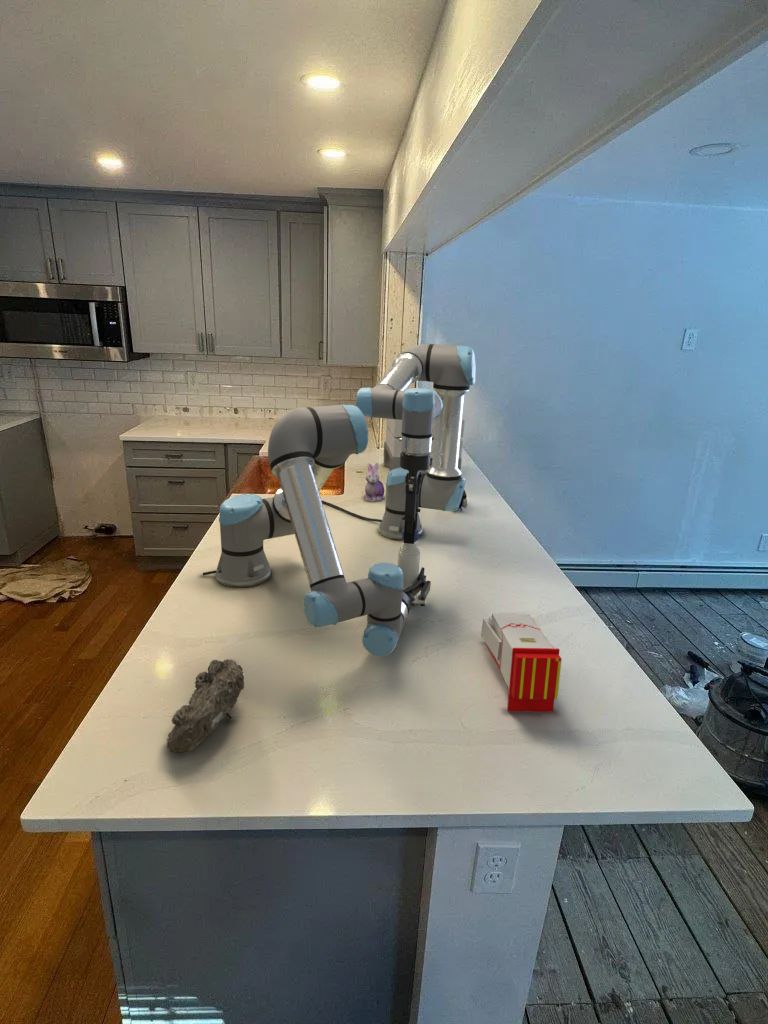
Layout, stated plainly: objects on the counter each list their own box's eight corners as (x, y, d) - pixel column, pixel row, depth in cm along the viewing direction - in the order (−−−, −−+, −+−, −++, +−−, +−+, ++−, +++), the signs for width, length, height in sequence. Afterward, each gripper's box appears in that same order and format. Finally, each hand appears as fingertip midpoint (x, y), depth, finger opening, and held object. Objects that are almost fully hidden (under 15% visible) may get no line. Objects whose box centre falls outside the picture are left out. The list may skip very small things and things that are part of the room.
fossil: (192, 660, 117) (244, 628, 112) (224, 691, 120) (276, 661, 115) (142, 746, 98) (202, 712, 93) (182, 779, 101) (242, 748, 96)
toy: (527, 598, 138) (570, 654, 108) (522, 650, 141) (563, 718, 111) (477, 597, 137) (507, 653, 108) (474, 649, 140) (502, 717, 111)
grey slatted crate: (382, 463, 289) (386, 382, 275) (445, 464, 293) (451, 384, 279) (390, 482, 257) (394, 392, 243) (460, 483, 261) (468, 394, 247)
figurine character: (467, 516, 223) (461, 500, 237) (469, 499, 220) (463, 483, 233) (450, 516, 223) (446, 499, 236) (452, 498, 220) (447, 483, 233)
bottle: (421, 600, 155) (426, 533, 148) (408, 607, 151) (412, 540, 144) (404, 593, 159) (408, 527, 152) (390, 600, 154) (394, 533, 148)
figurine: (369, 503, 229) (370, 467, 224) (358, 496, 237) (359, 461, 232) (389, 500, 233) (391, 465, 228) (378, 493, 242) (380, 459, 236)
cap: (418, 542, 146) (419, 534, 146) (401, 542, 146) (402, 534, 146) (418, 536, 151) (418, 528, 150) (401, 535, 151) (401, 527, 150)
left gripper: (354, 617, 139) (377, 577, 160) (430, 630, 135) (443, 587, 156) (355, 590, 137) (378, 553, 158) (433, 602, 133) (446, 562, 154)
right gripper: (404, 443, 149) (399, 526, 157) (395, 459, 133) (391, 550, 141) (433, 446, 148) (426, 529, 156) (427, 462, 132) (421, 554, 140)
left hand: (411, 570), depth 157 cm, fingers closed on bottle, 6 cm apart
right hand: (409, 539), depth 149 cm, fingers closed on cap, 4 cm apart
